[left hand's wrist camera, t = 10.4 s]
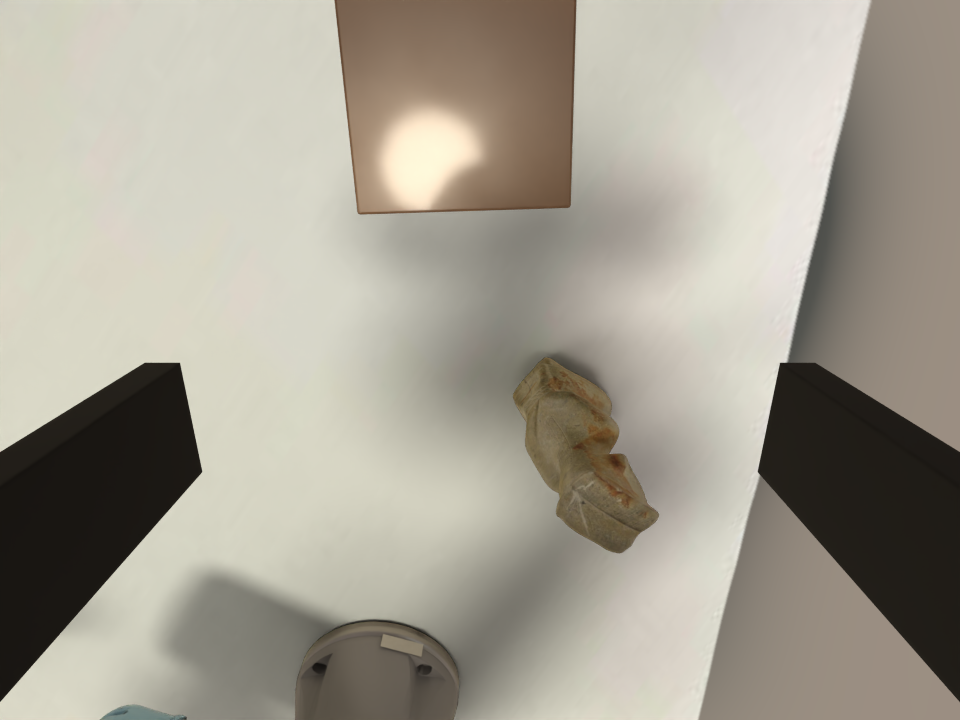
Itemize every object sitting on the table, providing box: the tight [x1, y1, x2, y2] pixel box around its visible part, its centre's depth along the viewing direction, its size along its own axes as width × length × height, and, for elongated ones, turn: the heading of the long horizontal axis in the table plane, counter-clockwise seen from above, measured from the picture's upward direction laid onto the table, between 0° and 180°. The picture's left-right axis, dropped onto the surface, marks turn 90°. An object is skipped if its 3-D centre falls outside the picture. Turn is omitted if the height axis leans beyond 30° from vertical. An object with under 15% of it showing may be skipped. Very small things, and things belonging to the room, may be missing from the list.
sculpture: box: [513, 357, 659, 553], centre depth 35 cm, size 6×7×15 cm
